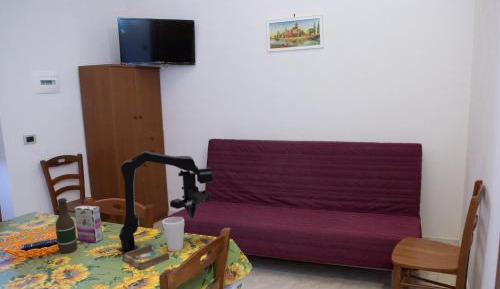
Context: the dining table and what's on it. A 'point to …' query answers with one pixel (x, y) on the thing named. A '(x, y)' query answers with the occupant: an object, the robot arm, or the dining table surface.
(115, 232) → the dining table surface
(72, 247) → the beer bottle
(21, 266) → the dining table surface
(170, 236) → the foam cup
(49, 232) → the dining table surface
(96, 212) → the candy bar box
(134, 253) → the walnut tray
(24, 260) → the dining table surface
